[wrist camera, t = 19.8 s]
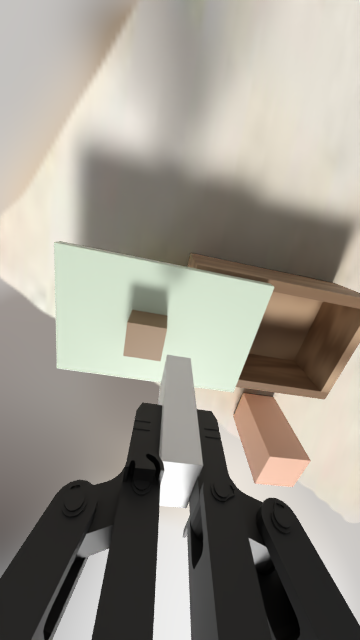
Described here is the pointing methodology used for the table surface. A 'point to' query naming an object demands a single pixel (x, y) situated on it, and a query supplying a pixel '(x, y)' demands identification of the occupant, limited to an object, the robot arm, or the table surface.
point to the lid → (152, 316)
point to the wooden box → (296, 331)
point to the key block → (269, 441)
